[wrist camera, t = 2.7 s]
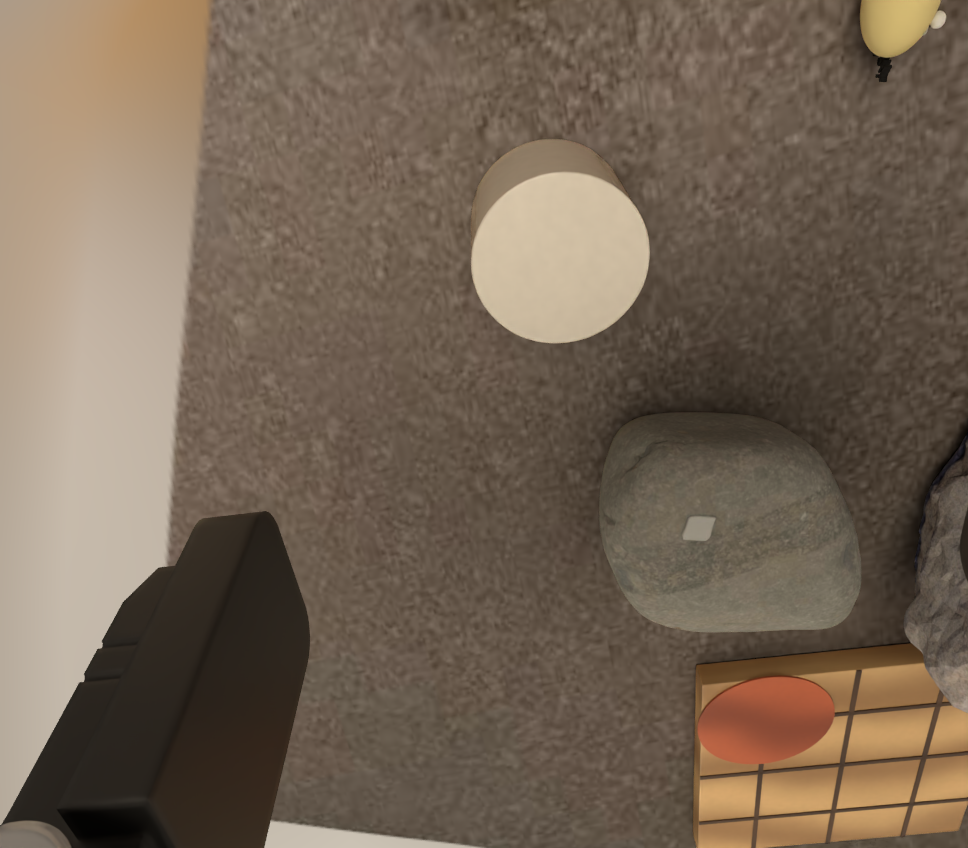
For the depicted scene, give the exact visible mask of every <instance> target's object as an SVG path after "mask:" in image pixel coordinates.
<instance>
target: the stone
mask: <svg viewBox="0 0 968 848" xmlns="http://www.w3.org/2000/svg"><path fill="white" fill-rule="evenodd" d="M599 524H600V533H601V538H602V543H603V547H604V550H605V553H606V556H607V559H608V561H609V564H610V566H611V568H612V571H613V573H614V575H615V577H616V580H617V582H618V584H619V586H620V588H621V590H622V592H623V593H624V595H625V596H626V598H627V600H628V601H629V602H630V603H631V605H632V606H633V607H634V608H635V609H636V610H637V611H638V612H639V613H640V614H641V615H643V616H644V617H646V618H647V619H649V620H651V621H654V622H656V623H658V624H661V625H664V626H666V627H671V628H675V629H680V630H687V631H695V632H757V631H776V630H818V629H826V628H830V627H833V626H835V625H837V624H840V623H841V622H842V621H844V620H845V618H846V617H847V616H848V615H849V614H850V612H851V611H852V609H853V606H854V604H855V602H856V599H857V598H858V594H859V591H860V587H861V556H860V552H859V545H858V538H857V534H856V530H855V527H854V524H853V520H852V517H851V513H850V511H849V508H848V506H847V504H846V501H845V499H844V497H843V496H842V494H841V491H840V489H839V487H838V485H837V483H836V481H835V479H834V477H833V474H832V473H831V471H830V469H829V467H828V465H827V464H826V462H825V461H824V460H823V458H822V457H821V455H820V454H819V453H818V452H817V451H816V450H815V449H814V448H813V447H812V446H811V445H810V444H809V443H807V442H806V441H805V440H804V439H802V438H801V437H799V436H798V435H796V434H795V433H792V432H790V431H789V430H787V429H786V428H785V427H783V426H781V425H780V424H777V423H775V422H772V421H770V420H767V419H764V418H759V417H755V416H750V415H744V414H734V413H713V412H671V413H659V414H652V415H646V416H642V417H639V418H636V419H634V420H632V421H630V422H628V423H627V424H625V425H624V426H623V427H621V428H620V429H619V430H618V432H617V433H616V435H615V437H614V439H613V440H612V443H611V445H610V448H609V451H608V454H607V457H606V460H605V464H604V468H603V474H602V480H601V487H600V496H599Z"/></svg>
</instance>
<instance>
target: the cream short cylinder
mask: <svg viewBox="0 0 968 848" xmlns="http://www.w3.org/2000/svg"><path fill="white" fill-rule="evenodd" d="M649 261H650V245H649V237H648V233H647V229H646V226H645V223H644V221H643V218H642V216H641V215H640V213H639V211H638V209H637V208H636V206H635V204H634V203H633V201H632V200H631V198H630V196H629V195H628V193H627V191H626V190H625V188H624V187H623V185H622V183H621V182H620V180H619V178H618V177H617V175H616V174H615V172H614V170H613V169H612V168H611V167H610V165H609V164H608V163H607V162H606V161H605V160H604V159H603V158H602V157H601V156H600V155H598V154H597V153H596V152H594V151H593V150H591V149H589V148H587V147H586V146H584V145H581V144H578V143H576V142H573V141H568V140H563V139H541V140H536V141H532V142H528V143H526V144H523V145H520V146H518V147H516V148H514V149H512V150H510V151H509V152H508V153H506V154H505V155H503V156H502V157H501V158H500V159H498V160H497V161H496V162H495V163H494V164H493V165H492V166H491V167H490V169H489V170H488V171H487V172H486V174H485V175H484V177H483V178H482V180H481V182H480V184H479V186H478V188H477V190H476V193H475V196H474V199H473V204H472V209H471V270H472V277H473V282H474V286H475V289H476V291H477V294H478V296H479V298H480V300H481V302H482V304H483V305H484V307H485V308H486V309H487V311H488V312H489V313H490V315H491V316H492V317H493V318H494V319H495V320H496V321H497V322H499V323H500V324H501V325H502V326H504V327H505V328H506V329H508V330H510V331H511V332H513V333H515V334H517V335H519V336H522V337H524V338H527V339H530V340H533V341H538V342H544V343H567V342H573V341H578V340H581V339H584V338H588V337H590V336H593V335H595V334H597V333H599V332H601V331H603V330H604V329H606V328H608V327H609V326H611V325H612V324H613V323H615V322H616V321H617V320H618V319H619V318H620V317H621V316H622V315H624V314H625V313H626V311H627V310H628V309H629V308H630V307H631V305H632V304H633V303H634V301H635V300H636V298H637V296H638V295H639V293H640V291H641V289H642V287H643V285H644V282H645V279H646V276H647V272H648V267H649Z"/></svg>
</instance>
